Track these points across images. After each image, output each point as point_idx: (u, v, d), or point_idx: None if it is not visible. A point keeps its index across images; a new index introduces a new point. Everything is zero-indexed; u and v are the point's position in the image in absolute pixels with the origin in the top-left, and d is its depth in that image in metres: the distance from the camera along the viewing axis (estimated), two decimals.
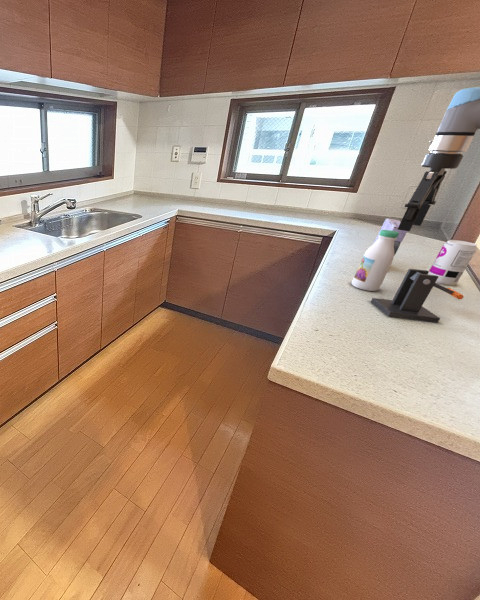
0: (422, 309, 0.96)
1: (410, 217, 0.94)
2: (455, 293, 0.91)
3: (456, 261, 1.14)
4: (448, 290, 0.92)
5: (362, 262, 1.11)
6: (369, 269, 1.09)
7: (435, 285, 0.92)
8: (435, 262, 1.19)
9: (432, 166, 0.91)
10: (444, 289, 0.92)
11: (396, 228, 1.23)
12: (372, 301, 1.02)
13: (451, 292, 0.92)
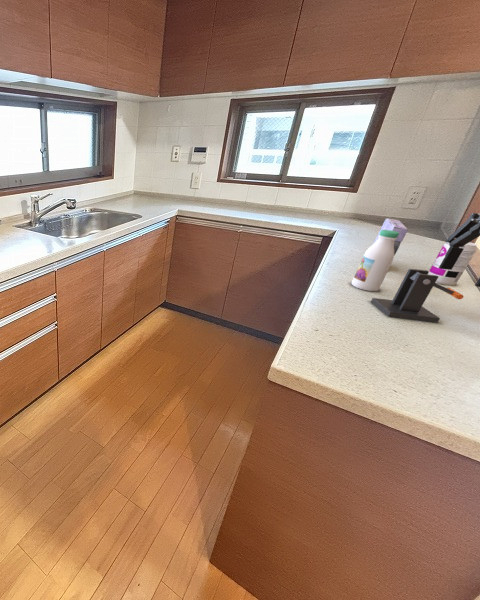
0: (422, 309, 0.96)
1: None
2: (455, 293, 0.91)
3: (456, 261, 1.14)
4: (448, 290, 0.92)
5: (362, 262, 1.11)
6: (369, 269, 1.09)
7: (435, 285, 0.92)
8: (435, 262, 1.19)
9: None
10: (444, 289, 0.92)
11: (396, 228, 1.23)
12: (372, 301, 1.02)
13: (451, 292, 0.92)
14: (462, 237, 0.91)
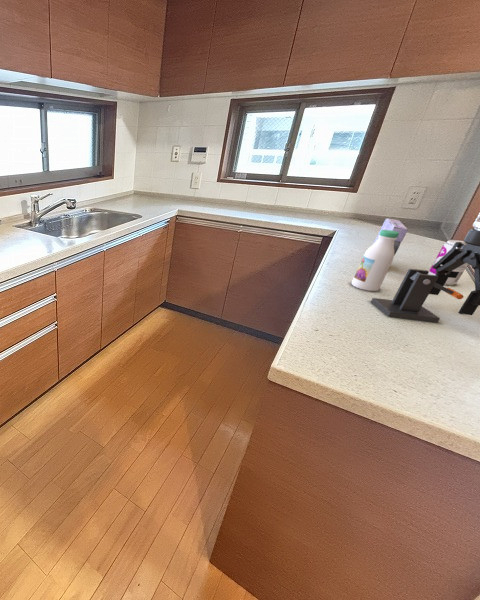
0: (422, 309, 0.96)
1: (479, 303, 0.85)
2: (455, 293, 0.91)
3: None
4: (448, 290, 0.92)
5: (362, 262, 1.11)
6: (369, 269, 1.09)
7: (435, 285, 0.92)
8: (435, 262, 1.19)
9: None
10: (444, 289, 0.92)
11: (396, 228, 1.23)
12: (372, 301, 1.02)
13: (451, 292, 0.92)
14: (447, 265, 0.94)
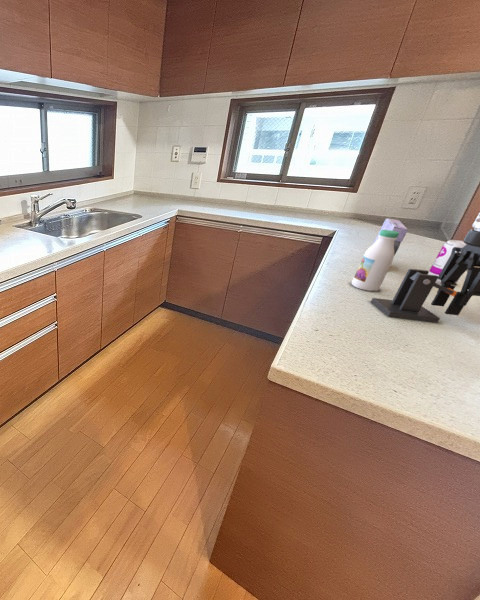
0: (422, 309, 0.96)
1: (464, 304, 0.89)
2: (455, 293, 0.91)
3: None
4: (448, 290, 0.92)
5: (362, 262, 1.11)
6: (369, 269, 1.09)
7: (435, 285, 0.92)
8: (435, 262, 1.19)
9: None
10: (444, 289, 0.92)
11: (396, 228, 1.23)
12: (372, 301, 1.02)
13: (451, 292, 0.92)
14: (451, 272, 0.92)
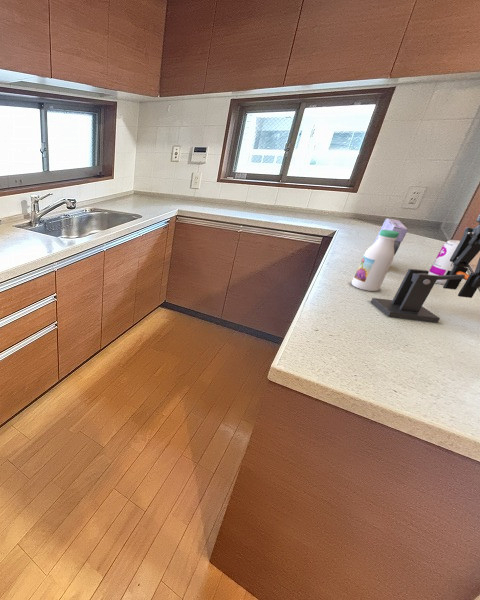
0: (422, 309, 0.96)
1: (478, 285, 0.86)
2: (466, 277, 0.89)
3: None
4: (457, 277, 0.90)
5: (362, 262, 1.11)
6: (369, 269, 1.09)
7: (440, 278, 0.91)
8: (435, 262, 1.19)
9: None
10: (452, 277, 0.90)
11: (396, 228, 1.23)
12: (372, 301, 1.02)
13: (462, 277, 0.90)
14: (464, 253, 0.90)
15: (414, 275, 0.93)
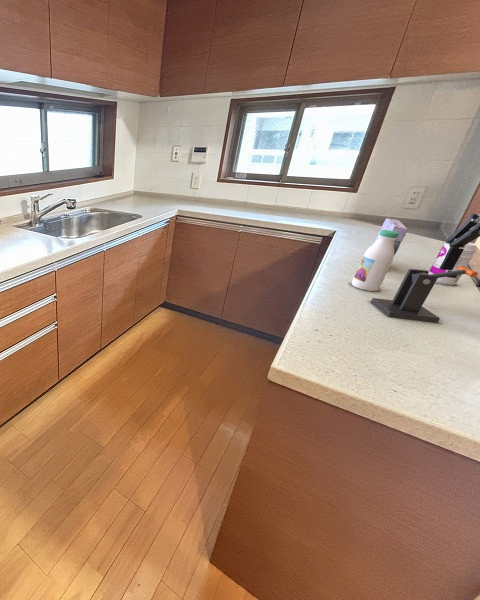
0: (422, 309, 0.96)
1: None
2: (467, 272, 0.88)
3: None
4: (458, 273, 0.89)
5: (362, 262, 1.11)
6: (369, 269, 1.09)
7: (440, 276, 0.91)
8: (435, 262, 1.19)
9: None
10: (453, 274, 0.90)
11: (396, 228, 1.23)
12: (372, 301, 1.02)
13: (463, 272, 0.89)
14: (462, 238, 0.91)
15: (413, 276, 0.93)
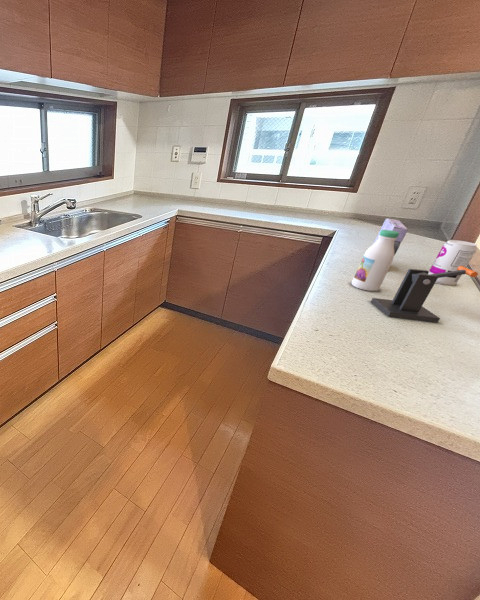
0: (422, 309, 0.96)
1: None
2: (467, 272, 0.88)
3: (456, 261, 1.14)
4: (458, 273, 0.89)
5: (362, 262, 1.11)
6: (369, 269, 1.09)
7: (440, 276, 0.91)
8: (435, 262, 1.19)
9: None
10: (453, 274, 0.90)
11: (396, 228, 1.23)
12: (372, 301, 1.02)
13: (463, 272, 0.89)
14: None
15: (413, 276, 0.93)
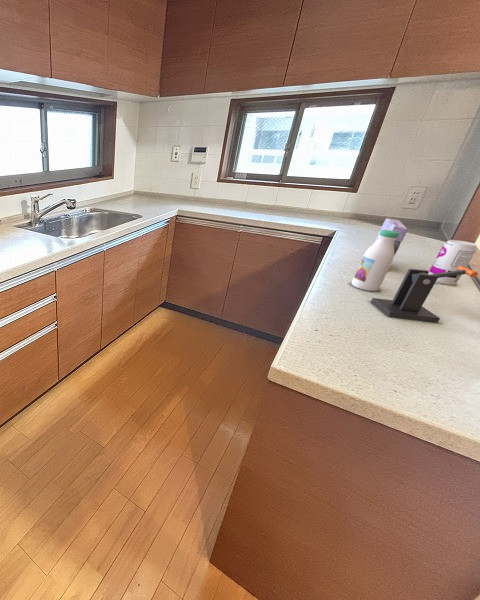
0: (422, 309, 0.96)
1: None
2: (467, 272, 0.88)
3: (456, 261, 1.14)
4: (458, 273, 0.89)
5: (362, 262, 1.11)
6: (369, 269, 1.09)
7: (440, 276, 0.91)
8: (435, 262, 1.19)
9: None
10: (453, 274, 0.90)
11: (396, 228, 1.23)
12: (372, 301, 1.02)
13: (463, 272, 0.89)
14: None
15: (413, 276, 0.93)
